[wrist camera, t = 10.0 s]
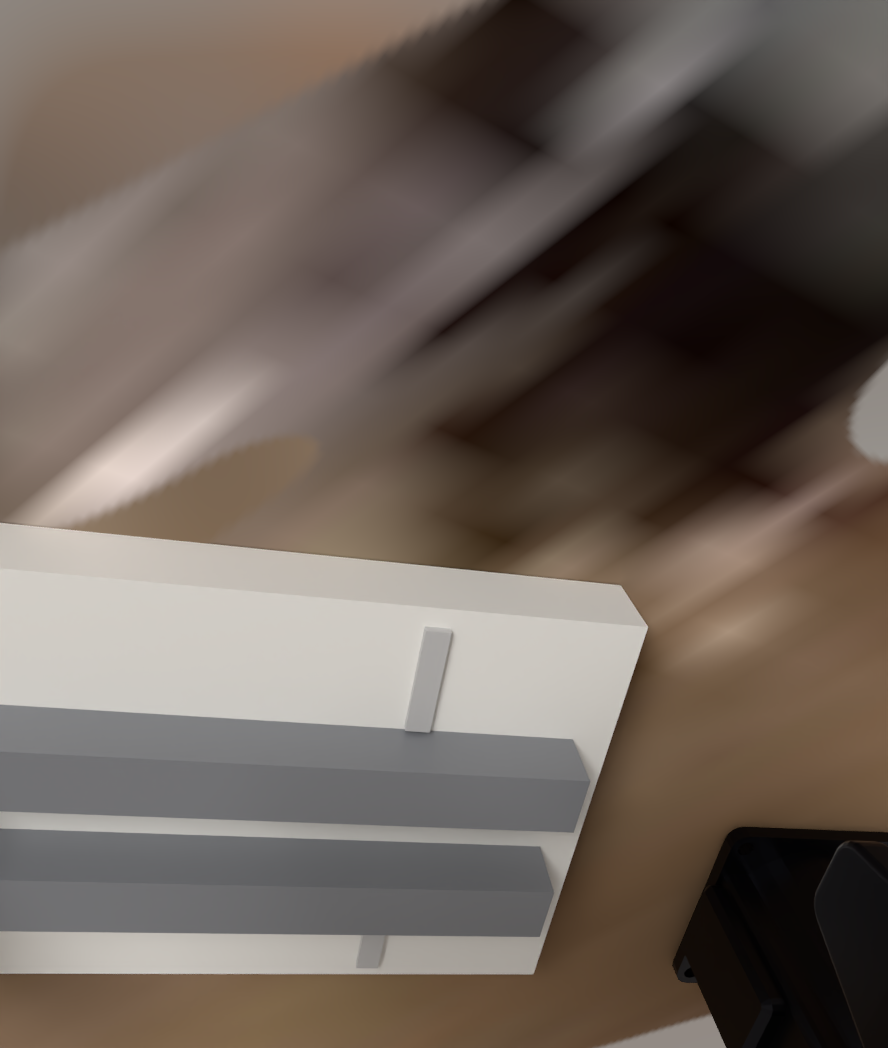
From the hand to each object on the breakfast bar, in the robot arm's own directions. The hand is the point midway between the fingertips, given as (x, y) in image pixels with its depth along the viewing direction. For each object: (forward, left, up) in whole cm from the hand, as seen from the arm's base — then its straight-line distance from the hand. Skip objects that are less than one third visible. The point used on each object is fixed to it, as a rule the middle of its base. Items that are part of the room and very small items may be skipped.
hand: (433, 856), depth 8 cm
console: (+5, +9, -12) cm, 16 cm away
